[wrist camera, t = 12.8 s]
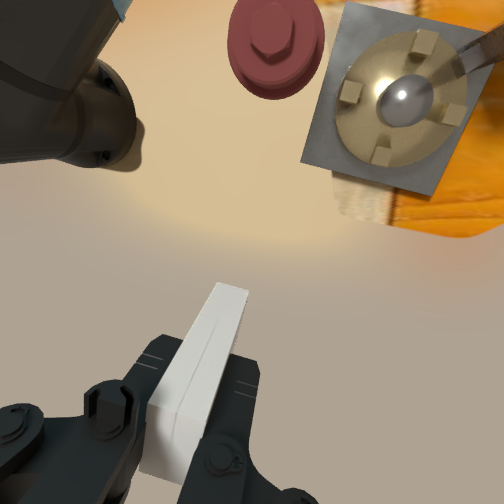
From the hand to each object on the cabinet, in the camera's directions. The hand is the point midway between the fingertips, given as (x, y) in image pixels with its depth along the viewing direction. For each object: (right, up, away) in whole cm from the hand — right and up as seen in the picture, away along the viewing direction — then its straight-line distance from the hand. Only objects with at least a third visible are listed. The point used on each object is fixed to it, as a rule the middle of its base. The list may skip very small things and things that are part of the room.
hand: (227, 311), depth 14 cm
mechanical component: (+5, +27, +24) cm, 37 cm away
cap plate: (+19, +21, +24) cm, 37 cm away
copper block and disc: (+22, +22, +21) cm, 38 cm away
